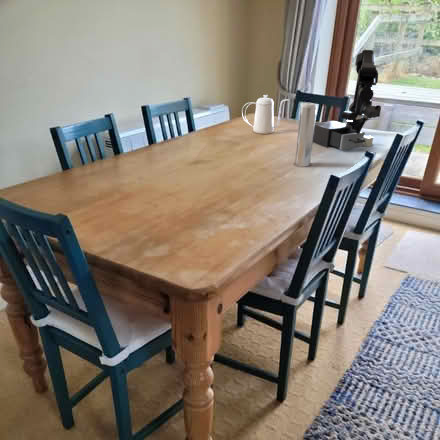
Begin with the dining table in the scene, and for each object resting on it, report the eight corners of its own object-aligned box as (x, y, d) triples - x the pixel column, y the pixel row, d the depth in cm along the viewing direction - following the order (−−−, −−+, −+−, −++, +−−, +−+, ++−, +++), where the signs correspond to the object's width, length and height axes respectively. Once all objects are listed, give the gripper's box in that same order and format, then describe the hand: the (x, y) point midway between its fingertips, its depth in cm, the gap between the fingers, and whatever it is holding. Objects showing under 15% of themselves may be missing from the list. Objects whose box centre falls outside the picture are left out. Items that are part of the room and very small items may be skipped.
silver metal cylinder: (309, 167, 195) (316, 105, 182) (294, 166, 196) (300, 104, 183) (310, 162, 201) (317, 102, 187) (295, 161, 202) (301, 101, 188)
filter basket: (358, 144, 228) (360, 136, 226) (367, 142, 230) (368, 135, 228) (366, 146, 224) (368, 138, 222) (374, 145, 226) (376, 137, 224)
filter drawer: (369, 149, 217) (372, 134, 213) (348, 152, 212) (350, 137, 208) (344, 140, 230) (347, 126, 226) (324, 143, 224) (325, 129, 221)
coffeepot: (287, 135, 242) (290, 97, 232) (240, 133, 244) (241, 96, 234) (286, 130, 251) (290, 93, 241) (241, 128, 253) (243, 92, 243)
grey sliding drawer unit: (349, 143, 228) (352, 126, 224) (326, 147, 222) (329, 129, 218) (331, 137, 238) (334, 120, 234) (309, 140, 233) (311, 123, 228)
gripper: (360, 102, 194) (354, 139, 202) (392, 99, 202) (385, 135, 210) (343, 98, 202) (337, 134, 211) (374, 95, 210) (367, 130, 218)
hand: (357, 133), depth 212 cm, fingers closed
